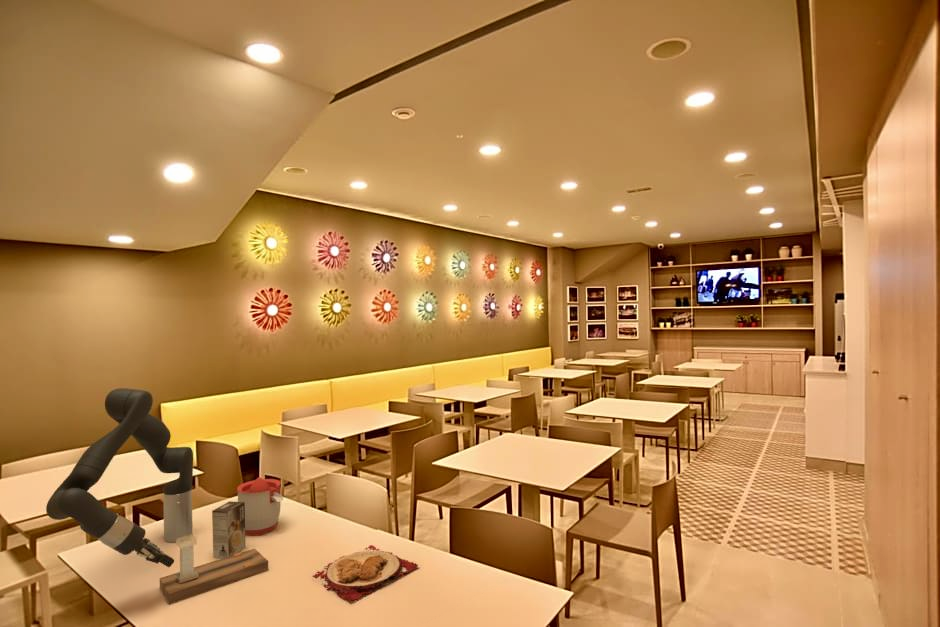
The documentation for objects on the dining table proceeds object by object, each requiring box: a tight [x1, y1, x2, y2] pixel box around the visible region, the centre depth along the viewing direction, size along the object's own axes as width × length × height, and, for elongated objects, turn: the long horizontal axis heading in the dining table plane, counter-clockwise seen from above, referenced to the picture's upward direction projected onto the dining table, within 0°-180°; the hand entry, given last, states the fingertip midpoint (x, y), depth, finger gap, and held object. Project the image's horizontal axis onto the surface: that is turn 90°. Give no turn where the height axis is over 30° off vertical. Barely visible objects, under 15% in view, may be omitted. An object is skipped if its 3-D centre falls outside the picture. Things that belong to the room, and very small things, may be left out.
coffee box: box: [211, 500, 247, 559], centre depth 176 cm, size 9×6×16 cm
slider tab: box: [175, 533, 198, 583], centre depth 153 cm, size 5×5×12 cm
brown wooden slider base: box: [159, 548, 269, 605], centre depth 158 cm, size 12×28×3 cm, turn 132°
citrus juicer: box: [236, 477, 284, 536], centre depth 194 cm, size 16×17×20 cm
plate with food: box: [312, 545, 419, 602], centre depth 161 cm, size 25×26×4 cm
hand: (171, 563), depth 150 cm, fingers closed
